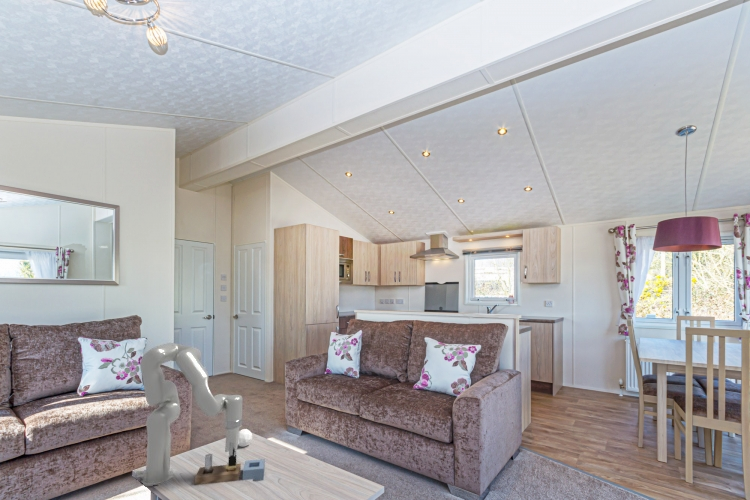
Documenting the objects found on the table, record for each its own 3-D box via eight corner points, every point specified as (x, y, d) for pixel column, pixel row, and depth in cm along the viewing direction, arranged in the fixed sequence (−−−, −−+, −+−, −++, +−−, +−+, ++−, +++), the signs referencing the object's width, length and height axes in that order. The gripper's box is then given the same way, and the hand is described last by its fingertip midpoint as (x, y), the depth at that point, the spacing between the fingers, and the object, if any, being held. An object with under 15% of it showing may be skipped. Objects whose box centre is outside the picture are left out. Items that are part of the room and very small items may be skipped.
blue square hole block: (242, 482, 174) (242, 470, 174) (244, 471, 184) (245, 460, 184) (263, 480, 176) (263, 468, 176) (264, 469, 186) (264, 459, 186)
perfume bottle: (243, 437, 221) (226, 447, 210) (246, 423, 219) (229, 432, 209) (254, 444, 217) (237, 455, 206) (257, 430, 215) (240, 440, 205)
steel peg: (203, 480, 174) (204, 457, 175) (205, 477, 177) (205, 454, 178) (210, 479, 174) (211, 456, 175) (212, 476, 177) (212, 453, 178)
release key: (225, 477, 175) (226, 466, 176) (226, 474, 179) (227, 463, 179) (235, 476, 176) (236, 465, 177) (236, 473, 180) (237, 462, 180)
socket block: (194, 487, 170) (195, 477, 170) (199, 476, 179) (199, 467, 180) (237, 482, 174) (238, 473, 174) (240, 472, 183) (240, 463, 184)
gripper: (227, 418, 186) (226, 458, 185) (222, 429, 172) (221, 473, 170) (243, 417, 188) (242, 456, 186) (240, 428, 173) (239, 471, 172)
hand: (232, 464), depth 178 cm, fingers closed
